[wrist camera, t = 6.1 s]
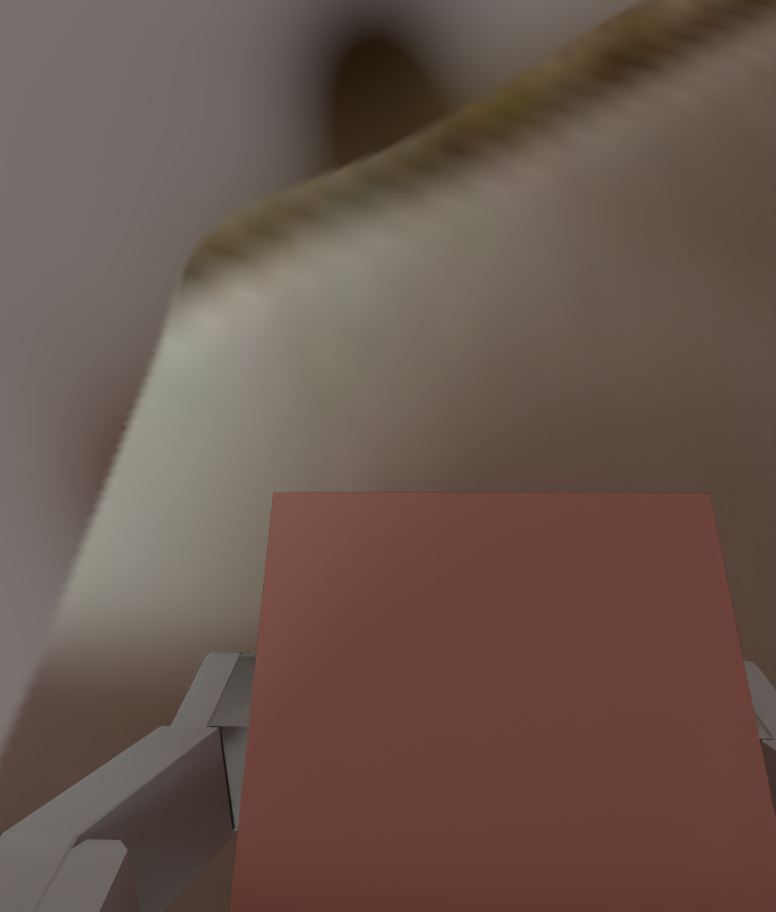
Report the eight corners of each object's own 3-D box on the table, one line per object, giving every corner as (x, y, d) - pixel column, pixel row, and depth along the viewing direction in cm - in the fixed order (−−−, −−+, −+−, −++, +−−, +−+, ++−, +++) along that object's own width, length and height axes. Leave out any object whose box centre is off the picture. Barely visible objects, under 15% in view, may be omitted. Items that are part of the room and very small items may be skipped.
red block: (566, 624, 15) (709, 493, 7) (591, 887, 12) (827, 1071, 5) (346, 621, 15) (273, 491, 8) (334, 878, 13) (215, 1040, 5)
